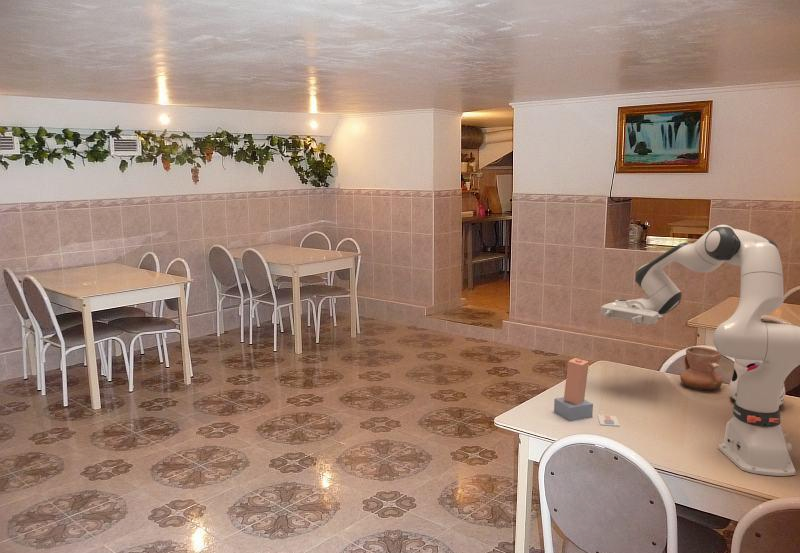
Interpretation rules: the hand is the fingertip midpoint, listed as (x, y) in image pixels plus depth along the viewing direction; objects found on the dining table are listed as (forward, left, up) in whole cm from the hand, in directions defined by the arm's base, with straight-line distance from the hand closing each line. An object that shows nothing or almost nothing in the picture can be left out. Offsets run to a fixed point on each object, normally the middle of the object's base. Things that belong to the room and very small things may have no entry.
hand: (618, 317), depth 230 cm
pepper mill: (-11, -43, -30) cm, 53 cm away
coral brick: (-17, +15, -25) cm, 34 cm away
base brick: (-17, +16, -30) cm, 38 cm away
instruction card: (-21, +4, -30) cm, 37 cm away
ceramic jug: (+20, -34, -30) cm, 49 cm away
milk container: (+5, -49, -30) cm, 57 cm away
